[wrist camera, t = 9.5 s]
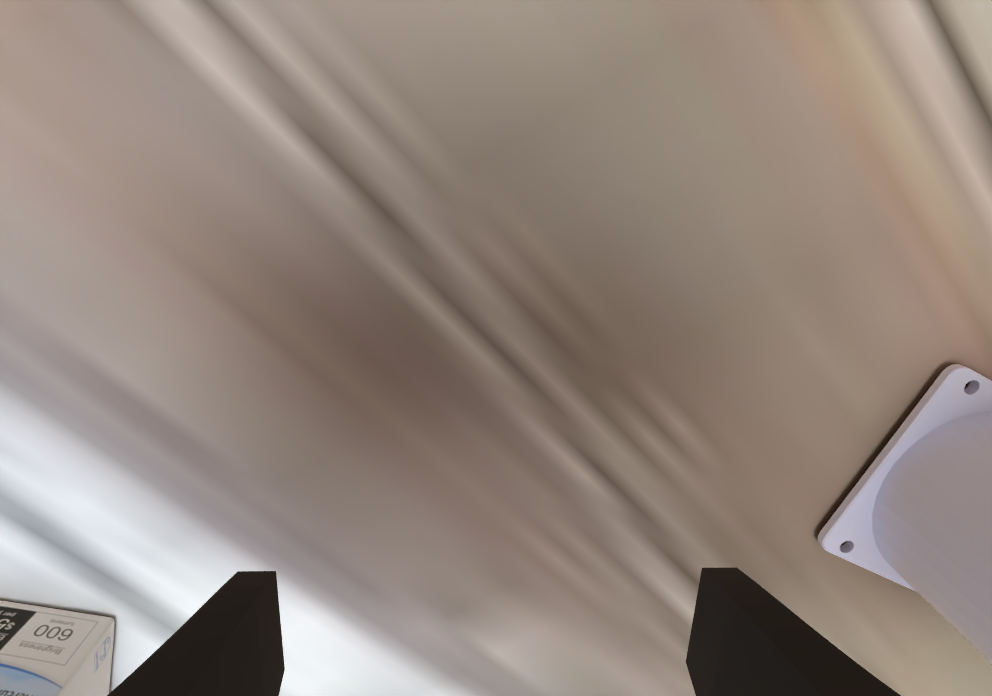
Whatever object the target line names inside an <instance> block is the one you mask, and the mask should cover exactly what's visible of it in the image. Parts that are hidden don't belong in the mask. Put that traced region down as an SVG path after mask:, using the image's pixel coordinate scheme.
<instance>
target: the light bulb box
mask: <svg viewBox="0 0 992 696" xmlns="http://www.w3.org/2000/svg"><path fill="white" fill-rule="evenodd" d="M114 626H115V622H114V619H113V618H111V617H105V616H97V615H91V614H85V613H78V612H72V611H66V610H59V609H53V608H46V607H40V606H33V605H27V604H20V603H14V602H8V601H1V600H0V696H107V695H108V694H109V687H110V674H111V663H112V652H113V641H114Z"/></svg>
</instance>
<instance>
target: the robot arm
mask: <svg viewBox="0 0 992 696" xmlns="http://www.w3.org/2000/svg"><path fill="white" fill-rule="evenodd" d="M969 381H970V384H969V386H968V387H967V388H966V389H964V387H965V385H966V384H967V383H968V382H969ZM846 541H847V542H846ZM818 542H819V544H820V545H821V547H822V548H823V549H824V550H826V551H827V552H829V553H831V554H833V555H836V556H838V557H840V558H842V559H844V560H847V561H849V562H851V563H853V564H856V565H858V566H860V567H862V568H864V569H867V570H869V571H871V572H873V573H876V574H878V575H880V576H882V577H884V578H887V579H889V580H891V581H893V582H896V583H898V584H900V585H902V586H904V587H907V588H909V589H911V590H913V591H916V592H918V593H919V594H920V595H921V596H922V597H923V598H924V599H925V600H926V601H927V602H928V603H929V604H930V605H931V606H932V607H933V608H934V609H935V610H936V611H937V612H938V613H939V614H940V615H941V616H942V617H943V618H944V619H945V620H946V621H947V622H948V623H949V624H950V625H951V626H953V627H954V628H955V629H956V630H957V631H958V632H959V633H960V634H961V635H962V636H963V637H964V638H965V639H966V640H967V641H968V642H969V643H970V644H971V645H972V646H973V647H974V648H975V649H976V650H977V651H978V652H979V653H980V654H981V655H982V656H983V657H984V658H985V659H986V660H987V661H988V662H989V663H991V664H992V381H991V380H989V379H988V378H986V377H984V376H982V375H980V374H979V373H977V372H975V371H973V370H971V369H970V368H967V367H965V366H963V365H959V364H954V365H950V366H948V367H946V368H945V369H944V370H943V371H942V372H941V374H940V375H939V376H938V378H937V379H936V380H935V382H934V383H933V384H932V386H931V387H930V388H929V390H928V391H927V392H926V393H925V395H924V396H923V397H922V399H921V400H920V401H919V403H918V404H917V405H916V407H915V408H914V409H913V410H912V412H911V413H910V414H909V416H908V417H907V418H906V420H905V421H904V422H903V424H902V425H901V426H900V428H899V429H898V430H897V431H896V433H895V434H894V435H893V437H892V438H891V439H890V441H889V442H888V443H887V445H886V446H885V447H884V449H883V450H882V451H881V452H880V454H879V455H878V456H877V458H876V459H875V460H874V462H873V463H872V464H871V466H870V467H869V468H868V469H867V471H866V472H865V473H864V475H863V476H862V477H861V479H860V480H859V481H858V483H857V484H856V485H855V487H854V488H853V489H852V490H851V492H850V493H849V494H848V496H847V497H846V498H845V500H844V501H843V502H842V504H841V505H840V506H839V508H838V509H837V510H836V511H835V513H834V514H833V515H832V517H831V518H830V519H829V521H828V522H827V523H826V525H825V526H824V527H823V528H822V530H821V531H820V533H819V535H818ZM843 542H846V543H845V544H844V545H843V546H841V544H842V543H843ZM686 664H687V667H688V671H689V674H690V677H691V681H692V684H693V687H694V691H695V694H696V696H901V695H899V694H898V693H896V692H895V691H894V690H892V689H891V688H889V687H888V686H887V685H885V684H884V683H883V682H881V681H880V680H878V679H877V678H876V677H874V676H873V675H872V674H871V673H869V672H868V671H867V670H865V669H864V668H863V667H861V666H860V665H859V664H857V663H856V662H855V661H853V660H852V659H851V658H850V657H848V656H847V655H846V654H844V653H843V652H842V651H840V650H839V649H838V648H837V647H835V646H834V645H833V644H832V643H830V642H829V641H828V640H827V639H825V638H824V637H823V636H822V635H820V634H819V633H818V632H817V631H815V630H814V629H813V628H812V627H810V626H809V625H808V624H807V623H805V622H804V621H803V620H802V619H800V618H799V617H798V616H797V615H795V614H794V613H793V612H792V611H791V610H789V609H788V608H787V607H786V606H784V605H783V604H782V603H781V602H779V601H778V600H777V599H776V598H775V597H773V596H772V595H771V594H770V593H768V592H767V591H766V590H765V589H763V588H762V587H761V586H760V585H758V584H757V583H756V582H755V581H753V580H752V579H751V578H750V577H748V576H747V575H746V574H744V573H743V572H742V571H740V570H739V569H738V568H702V571H701V577H700V583H699V589H698V595H697V600H696V606H695V612H694V618H693V623H692V629H691V635H690V641H689V647H688V652H687V658H686ZM283 674H284V658H283V646H282V635H281V624H280V613H279V601H278V590H277V579H276V571H248V572H237V573H236V574H235V575H234V576H233V577H232V578H231V579H229V580H228V581H227V582H226V583H225V584H224V585H223V586H222V587H221V588H220V589H219V590H218V591H217V592H216V593H215V594H214V595H213V596H212V597H211V598H210V599H209V600H208V601H207V602H206V603H205V604H204V605H203V606H202V607H201V608H200V609H199V610H198V611H197V612H196V613H195V614H194V615H193V616H192V617H191V618H190V619H189V620H188V621H187V622H186V623H185V624H184V625H183V626H181V627H180V628H179V629H178V630H177V631H176V632H175V633H174V634H173V635H172V636H171V637H170V638H169V639H168V640H167V641H166V642H165V643H164V644H163V645H162V646H161V647H160V648H158V649H157V650H156V651H155V652H154V653H153V654H152V655H151V656H150V657H149V658H148V659H147V660H146V661H145V662H144V663H143V664H142V665H140V666H139V667H138V668H137V669H136V670H135V671H134V672H133V673H132V674H131V675H130V676H129V677H128V678H126V679H125V680H124V681H123V682H122V683H121V684H120V685H119V686H117V687H116V688H115V689H114V690H113V691H112V692H111V693H109V694H108V695H107V696H278V695H279V691H280V687H281V682H282V678H283Z"/></svg>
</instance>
